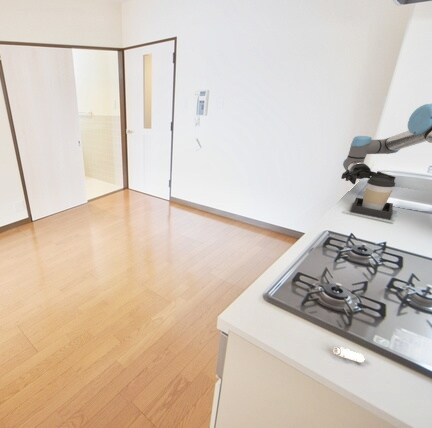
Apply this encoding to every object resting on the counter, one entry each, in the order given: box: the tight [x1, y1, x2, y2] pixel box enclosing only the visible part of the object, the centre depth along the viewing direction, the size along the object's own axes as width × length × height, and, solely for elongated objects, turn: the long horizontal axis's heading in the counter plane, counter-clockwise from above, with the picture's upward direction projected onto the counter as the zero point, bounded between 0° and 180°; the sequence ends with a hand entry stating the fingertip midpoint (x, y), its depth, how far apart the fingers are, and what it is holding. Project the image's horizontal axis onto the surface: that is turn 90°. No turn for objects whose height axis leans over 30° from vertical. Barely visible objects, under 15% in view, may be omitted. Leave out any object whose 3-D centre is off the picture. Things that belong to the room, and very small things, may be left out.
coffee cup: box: [362, 176, 396, 210], centre depth 124 cm, size 9×9×15 cm
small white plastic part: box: [332, 346, 366, 363], centre depth 62 cm, size 4×6×3 cm, turn 49°
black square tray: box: [350, 196, 394, 220], centre depth 127 cm, size 13×13×3 cm
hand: (373, 182), depth 129 cm, fingers open, 13 cm apart
